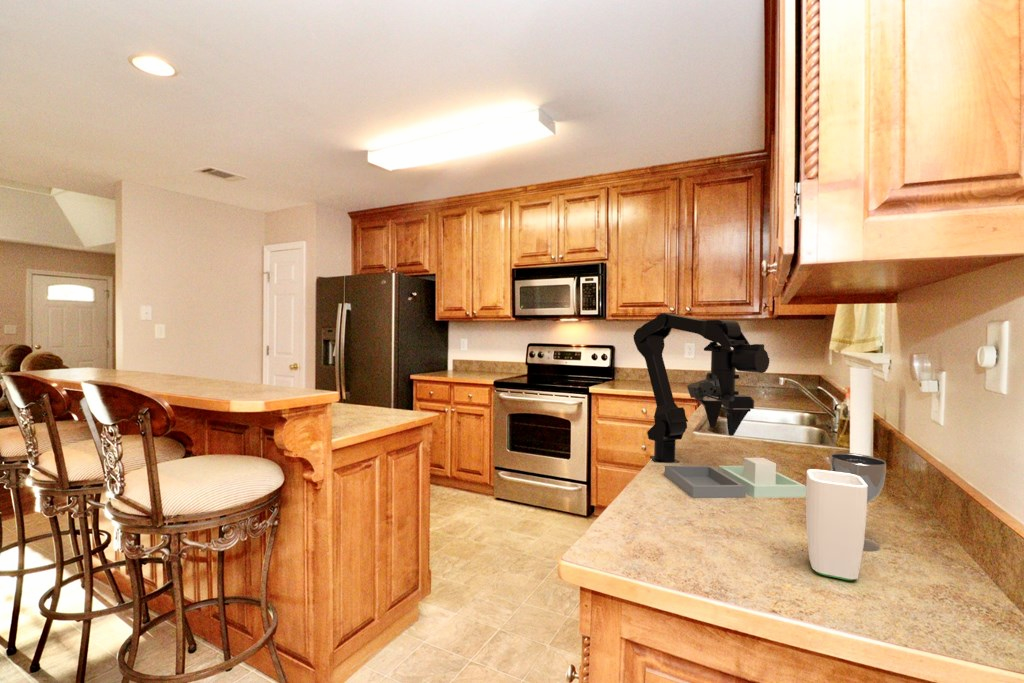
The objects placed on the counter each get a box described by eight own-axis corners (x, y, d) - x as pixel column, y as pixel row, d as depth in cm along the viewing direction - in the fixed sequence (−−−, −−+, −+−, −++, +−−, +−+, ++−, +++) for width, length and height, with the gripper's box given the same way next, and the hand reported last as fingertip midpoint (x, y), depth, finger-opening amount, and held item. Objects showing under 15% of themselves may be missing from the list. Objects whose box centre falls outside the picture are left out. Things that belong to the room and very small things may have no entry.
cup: (802, 556, 79) (805, 467, 78) (855, 566, 76) (859, 474, 75) (808, 576, 72) (811, 480, 72) (866, 589, 69) (870, 487, 69)
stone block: (742, 482, 116) (743, 457, 116) (762, 482, 116) (763, 457, 116) (754, 488, 111) (755, 463, 111) (775, 488, 111) (776, 463, 111)
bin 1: (664, 477, 120) (664, 465, 120) (710, 477, 121) (710, 465, 121) (692, 500, 104) (693, 486, 104) (745, 499, 105) (745, 486, 105)
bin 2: (717, 477, 121) (718, 465, 121) (762, 477, 122) (763, 465, 122) (754, 499, 105) (754, 486, 105) (805, 499, 106) (806, 486, 106)
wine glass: (877, 556, 79) (880, 467, 79) (822, 540, 85) (825, 457, 85) (887, 543, 84) (890, 459, 84) (834, 528, 90) (837, 450, 90)
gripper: (676, 366, 128) (675, 423, 129) (710, 372, 110) (708, 440, 110) (716, 367, 129) (714, 424, 129) (756, 373, 110) (754, 440, 111)
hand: (721, 431), depth 120 cm, fingers open, 9 cm apart
